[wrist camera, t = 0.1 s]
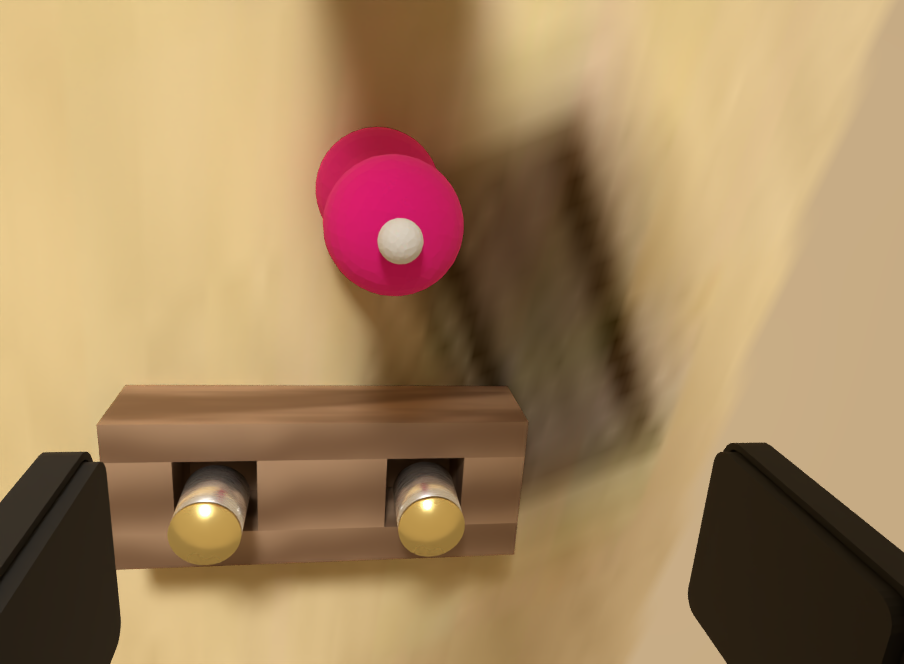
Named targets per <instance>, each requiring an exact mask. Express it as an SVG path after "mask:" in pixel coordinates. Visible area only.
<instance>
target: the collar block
mask: <svg viewBox="0 0 904 664" xmlns="http://www.w3.org/2000/svg"><path fill="white" fill-rule="evenodd" d="M527 431H528V421H527V419H526V417H525V415H524V414H523V412H522V410H521V409H520V407H519V405H518V404H517V402H516V400H515V398H514V397H513V395H512V393H511V392H510V390H509V388H508V386H260V385H125V387H124V388H123V389H122V391H121V392H120V393H119V395H118V396H117V398H116V399H115V400H114V402H113V403H112V404H111V406H110V407H109V409H108V410H107V411H106V413H105V414H104V415H103V417H102V418H101V420H100V421H99V422H98V424H97V435H98V445H99V455H100V462H103V463H104V464H105V467H106V472H107V481H108V492H109V502H110V513H111V523H112V533H113V544H114V554H115V565H116V570H121V569H147V568H173V567H199V566H225V565H251V564H277V563H303V562H329V561H355V560H381V559H406V558H432V557H458V556H484V555H510V554H514V549H515V539H516V530H517V521H518V512H519V503H520V494H521V485H522V476H523V467H524V458H525V449H526V440H527ZM417 462H433V463H437V464H439V465H441V466H442V467H444V468H445V469H446V470H447V471H448V472H449V474H450V475H451V477H452V480H453V484H454V487H455V490H456V494H457V497H458V500H459V504H460V507H461V510H462V514H463V517H464V521H465V529H464V533H463V536H462V538H461V539H460V541H459V542H458V544H457V545H456V546H455V547H454V548H452V549H451V550H449V551H448V552H446V553H444V554H441V555H438V556H431V557H426V556H420V555H416V554H414V553H412V552H410V551H409V550H408V549H406V548H405V547H404V545H403V544H402V542H401V540H400V537H399V533H398V526H397V518H396V511H395V504H394V497H393V485H394V481H395V479H396V477H397V476H398V474H399V473H400V472H401V471H402V470H403V469H405V468H406V467H408V466H409V465H411V464H414V463H417ZM209 465H224V466H228V467H231V468H233V469H235V470H237V471H238V472H240V473H241V474H242V475H243V476H244V477H245V479H246V480H247V482H248V484H249V487H250V499H249V503H248V508H247V513H246V517H245V522H244V527H243V531H242V536H241V540H240V544H239V546H238V548H237V550H236V551H235V552H234V553H233V554H232V555H231V556H230V557H229V558H227V559H226V560H224V561H222V562H220V563H216V564H212V565H196V564H192V563H189V562H187V561H185V560H183V559H181V558H180V557H179V556H177V555H176V554H175V553H174V552H173V550H172V549H171V547H170V545H169V542H168V537H167V532H168V528H169V525H170V522H171V519H172V517H173V514H174V512H175V509H176V507H177V504H178V501H179V499H180V496H181V494H182V491H183V489H184V486H185V483H186V481H187V480H188V478H189V477H190V476H191V475H192V474H193V473H194V472H195V471H197V470H198V469H200V468H202V467H205V466H209Z"/></svg>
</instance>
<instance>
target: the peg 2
mask: <svg viewBox="0 0 904 664" xmlns="http://www.w3.org/2000/svg"><path fill="white" fill-rule="evenodd" d="M393 497H394V504H395V511H396V518H397V526H398V533H399V537H400V540H401V542H402V544H403V545H404V547H405V548H406V549H408V550H409V551H410V552H412V553H414V554H416V555H420V556H426V557H431V556H438V555H441V554H444V553H446V552H448V551H449V550H451V549H452V548H454V547H455V546H456V545H457V544H458V542H459V541H460V539H461V538H462V536H463V533H464V529H465V521H464V517H463V514H462V510H461V507H460V504H459V500H458V497H457V494H456V490H455V487H454V484H453V480H452V477H451V475H450V474H449V472H448V471H447V470H446V469H445V468H444V467H442V466H441V465H439V464H437V463H433V462H417V463H414V464H411V465H409V466H408V467H406V468H405V469H403V470H402V471H401V472H400V473H399V474H398V476H397V477H396V479H395V481H394V485H393Z"/></svg>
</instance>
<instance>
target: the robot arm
mask: <svg viewBox="0 0 904 664" xmlns="http://www.w3.org/2000/svg"><path fill="white" fill-rule="evenodd" d="M688 600H689V605H690V608H691V611H692V613H693V615H694V616H695V618H696V619H697V620H698V622H699V623H700V625H701V626H702V628H703V629H704V630H705V632H706V633H707V635H708V636H709V638H710V639H711V640H712V642H713V644H714V645H715V647H716V648H717V649H718V651H719V652H720V654H721V655H722V656H723V658H724V660H725V661H726V663H727V664H904V552H902V551H901V550H900V549H899V548H897V547H896V546H895V545H894V544H893V543H891V542H890V541H889V540H887V539H886V538H885V537H884V536H883V535H881V534H880V533H879V532H877V531H876V530H875V529H874V528H873V527H871V526H870V525H869V524H868V523H866V522H865V521H864V520H863V519H861V518H860V517H859V516H858V515H856V514H855V513H854V512H853V511H851V510H850V509H849V508H848V507H846V506H845V505H844V504H843V503H841V502H840V501H839V500H838V499H836V498H835V497H834V496H833V495H831V494H830V493H829V492H828V491H826V490H825V489H824V488H823V487H821V486H820V485H819V484H818V483H816V482H815V481H814V480H813V479H812V478H810V477H809V476H808V475H806V474H805V473H804V472H803V471H802V470H800V469H799V468H798V467H797V466H795V465H794V464H793V463H792V462H790V461H789V460H788V459H787V458H785V457H784V456H783V455H782V454H780V453H779V452H778V451H777V450H775V449H774V448H773V447H772V446H770V445H768V444H767V443H730V444H729V445H727V446H726V448H725V449H724V451H723V452H720V453H718V454H717V455H716V457H715V460H714V464H713V469H712V473H711V478H710V483H709V488H708V493H707V498H706V503H705V508H704V514H703V518H702V523H701V528H700V534H699V538H698V544H697V548H696V553H695V559H694V564H693V568H692V573H691V578H690V583H689V588H688ZM120 626H121V617H120V606H119V596H118V586H117V575H116V565H115V554H114V544H113V533H112V523H111V513H110V502H109V492H108V481H107V472H106V467H105V464H104V463H103V462H93V460H92V458H91V455H90V454H89V453H88V452H45V453H42V454H41V455H39V456H38V458H37V459H36V460H35V461H34V462H33V464H32V465H31V466H30V467H29V468H28V470H27V471H26V472H25V473H24V475H23V476H22V477H21V478H20V479H19V481H18V482H17V483H16V484H15V485H14V487H13V488H12V489H11V490H10V491H9V493H8V494H7V495H6V496H5V497H4V499H3V500H2V501H1V502H0V664H110V663H111V660H112V658H113V655H114V653H115V650H116V647H117V644H118V640H119V636H120Z"/></svg>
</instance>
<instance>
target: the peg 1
mask: <svg viewBox="0 0 904 664" xmlns="http://www.w3.org/2000/svg"><path fill="white" fill-rule="evenodd" d="M249 499H250V487H249V484H248V482H247V480H246V479H245V477H244V476H243V475H242V474H241V473H240V472H238V471H237V470H235V469H233V468H231V467H228V466H224V465H209V466H205V467H202V468H200V469H198V470H197V471H195V472H194V473H193V474H192V475H191V476H190V477H189V478H188V480H187V481H186V483H185V486H184V489H183V491H182V494H181V496H180V499H179V501H178V504H177V507H176V509H175V512H174V514H173V517H172V519H171V522H170V525H169V528H168V532H167V537H168V542H169V545H170V547H171V549H172V550H173V552H174V553H175V554H176V555H177V556H179V557H180V558H181V559H183V560H185V561H187V562H189V563H192V564H196V565H212V564H216V563H220V562H222V561H224V560H226V559H227V558H229V557H230V556H231V555H232V554H233V553H234V552H235V551H236V550H237V548H238V546H239V544H240V540H241V536H242V531H243V527H244V522H245V517H246V513H247V508H248V503H249Z"/></svg>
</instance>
